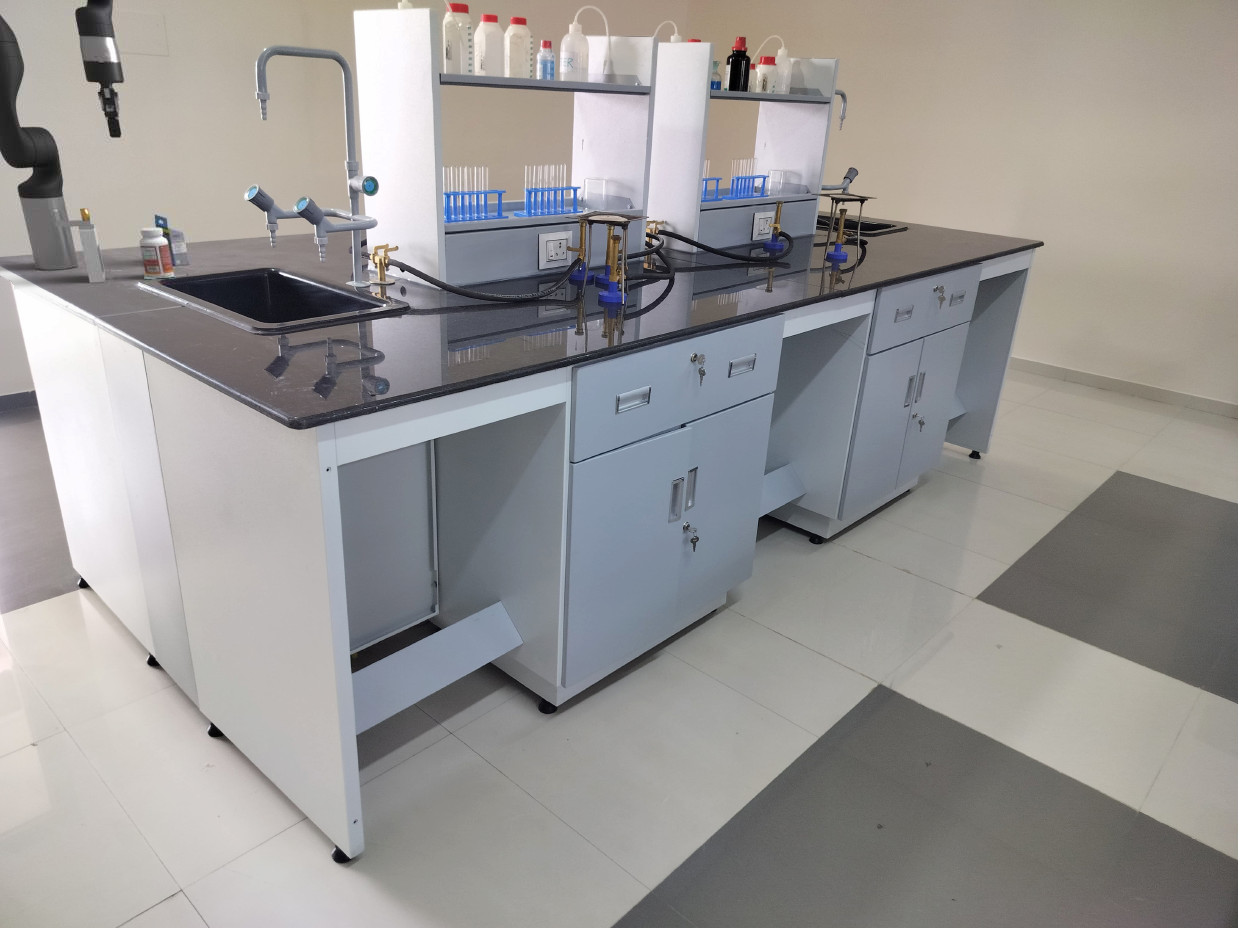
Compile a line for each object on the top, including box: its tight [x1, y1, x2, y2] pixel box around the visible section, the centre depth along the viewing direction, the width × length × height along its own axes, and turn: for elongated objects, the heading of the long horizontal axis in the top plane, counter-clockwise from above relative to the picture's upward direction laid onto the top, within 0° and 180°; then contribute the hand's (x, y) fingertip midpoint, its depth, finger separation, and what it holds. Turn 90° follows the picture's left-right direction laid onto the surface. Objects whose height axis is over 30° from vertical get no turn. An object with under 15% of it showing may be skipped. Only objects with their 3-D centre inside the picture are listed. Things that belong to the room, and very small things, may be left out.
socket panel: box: [77, 223, 106, 284], centre depth 205 cm, size 9×3×13 cm, turn 27°
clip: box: [55, 208, 92, 228], centre depth 199 cm, size 2×7×4 cm, turn 117°
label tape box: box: [154, 214, 190, 267], centre depth 226 cm, size 9×4×12 cm, turn 46°
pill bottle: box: [139, 227, 174, 277], centre depth 209 cm, size 6×6×11 cm
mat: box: [143, 271, 175, 280], centre depth 212 cm, size 6×6×1 cm
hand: (116, 136), depth 200 cm, fingers open, 8 cm apart
